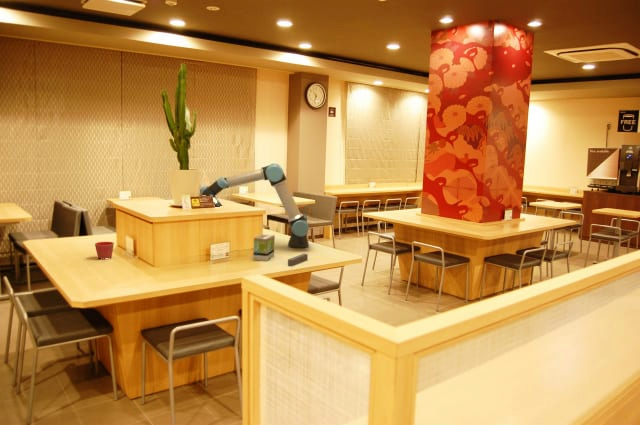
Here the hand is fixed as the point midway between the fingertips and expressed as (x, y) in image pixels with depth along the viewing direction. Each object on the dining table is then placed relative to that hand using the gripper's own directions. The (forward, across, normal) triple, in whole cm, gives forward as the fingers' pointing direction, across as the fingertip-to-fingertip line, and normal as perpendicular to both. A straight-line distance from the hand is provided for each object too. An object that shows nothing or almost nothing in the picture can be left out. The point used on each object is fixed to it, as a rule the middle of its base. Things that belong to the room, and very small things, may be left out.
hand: (233, 229), depth 339 cm
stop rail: (+47, -1, +23) cm, 52 cm away
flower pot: (-31, +54, -55) cm, 83 cm away
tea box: (+29, 0, +5) cm, 30 cm away
